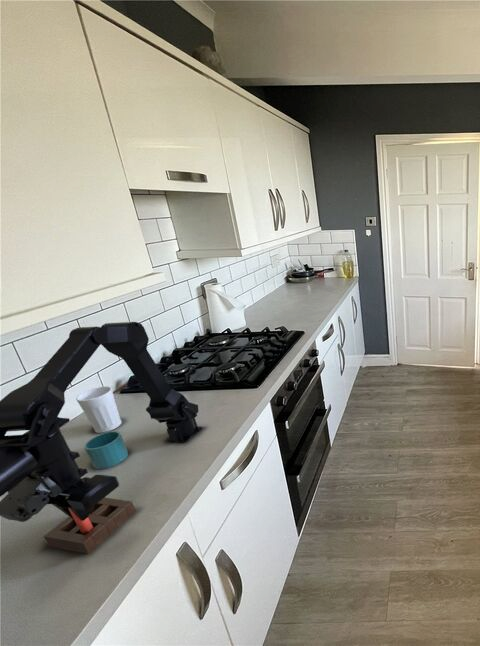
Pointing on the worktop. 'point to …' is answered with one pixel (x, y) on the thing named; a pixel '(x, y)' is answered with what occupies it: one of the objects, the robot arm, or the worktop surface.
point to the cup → (100, 408)
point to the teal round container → (106, 450)
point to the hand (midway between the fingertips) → (81, 518)
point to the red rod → (82, 523)
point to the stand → (102, 518)
